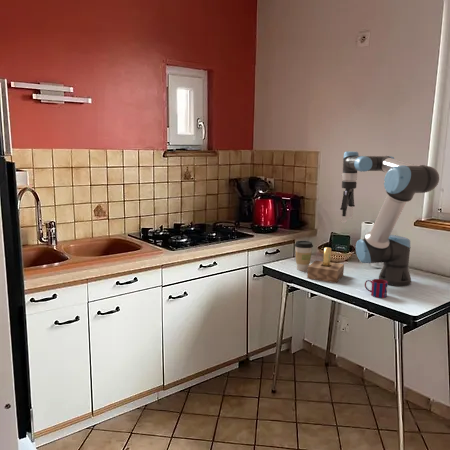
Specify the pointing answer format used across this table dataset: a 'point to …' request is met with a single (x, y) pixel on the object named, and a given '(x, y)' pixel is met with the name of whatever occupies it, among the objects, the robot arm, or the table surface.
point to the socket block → (325, 271)
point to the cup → (378, 288)
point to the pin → (327, 257)
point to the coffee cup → (303, 254)
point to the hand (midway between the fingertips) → (346, 220)
